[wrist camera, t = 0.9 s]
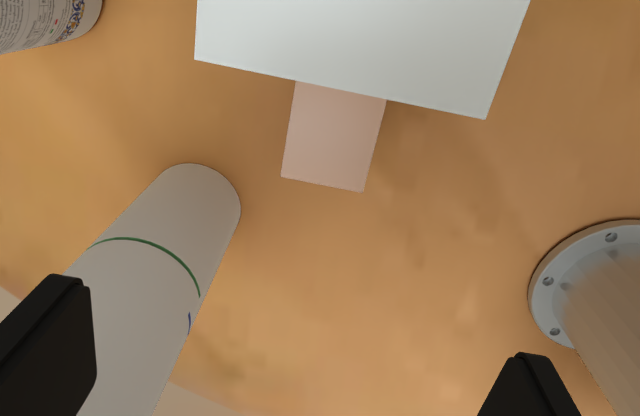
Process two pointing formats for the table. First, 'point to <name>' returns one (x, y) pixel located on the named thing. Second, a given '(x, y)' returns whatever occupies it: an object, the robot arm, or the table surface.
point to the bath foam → (44, 22)
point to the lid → (361, 66)
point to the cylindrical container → (153, 283)
